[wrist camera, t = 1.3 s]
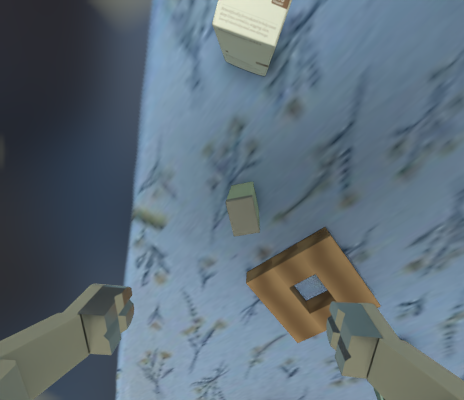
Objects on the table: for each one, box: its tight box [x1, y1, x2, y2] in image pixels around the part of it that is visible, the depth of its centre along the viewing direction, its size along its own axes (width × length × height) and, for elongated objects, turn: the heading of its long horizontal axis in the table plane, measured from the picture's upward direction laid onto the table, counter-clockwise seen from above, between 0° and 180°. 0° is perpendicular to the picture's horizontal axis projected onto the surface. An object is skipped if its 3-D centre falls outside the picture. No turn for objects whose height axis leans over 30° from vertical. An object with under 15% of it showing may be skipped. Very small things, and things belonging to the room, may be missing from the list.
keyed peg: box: [226, 182, 260, 236], centre depth 33 cm, size 4×5×8 cm
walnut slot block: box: [246, 227, 380, 343], centre depth 40 cm, size 16×16×3 cm
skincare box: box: [212, 0, 292, 76], centre depth 25 cm, size 6×4×12 cm
